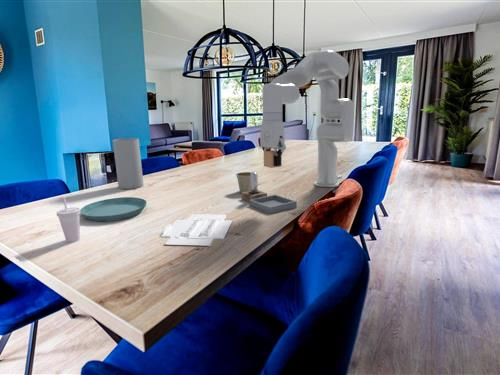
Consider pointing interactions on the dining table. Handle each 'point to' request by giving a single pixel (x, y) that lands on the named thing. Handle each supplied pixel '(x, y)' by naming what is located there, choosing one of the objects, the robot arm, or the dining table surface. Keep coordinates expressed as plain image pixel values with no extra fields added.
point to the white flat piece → (197, 230)
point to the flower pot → (244, 181)
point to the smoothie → (70, 222)
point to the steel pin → (254, 183)
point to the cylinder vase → (128, 163)
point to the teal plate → (113, 209)
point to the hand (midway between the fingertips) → (272, 164)
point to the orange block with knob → (270, 159)
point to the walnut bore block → (249, 196)
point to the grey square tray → (273, 203)
